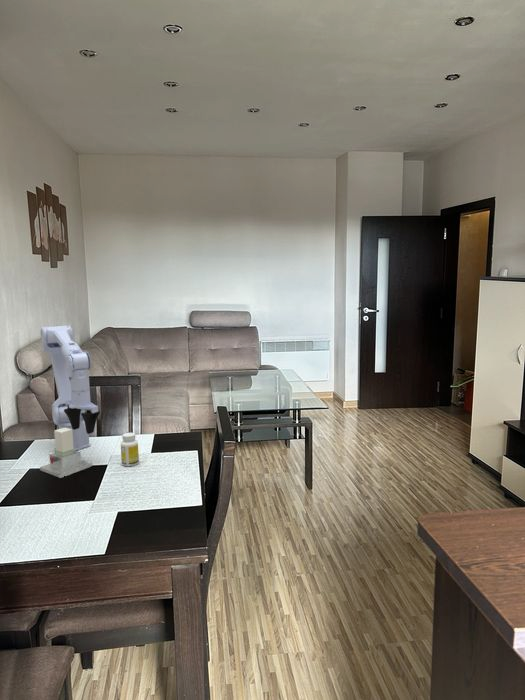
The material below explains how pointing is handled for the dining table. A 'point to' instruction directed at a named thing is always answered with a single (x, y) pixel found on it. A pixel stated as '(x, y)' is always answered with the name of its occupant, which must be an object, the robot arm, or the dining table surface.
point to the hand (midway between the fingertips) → (83, 430)
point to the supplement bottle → (129, 450)
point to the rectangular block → (64, 442)
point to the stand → (65, 464)
